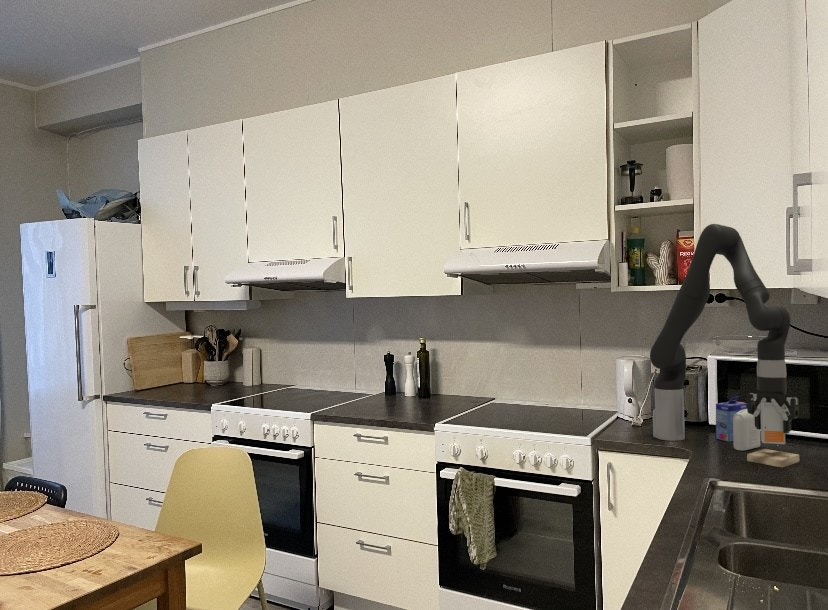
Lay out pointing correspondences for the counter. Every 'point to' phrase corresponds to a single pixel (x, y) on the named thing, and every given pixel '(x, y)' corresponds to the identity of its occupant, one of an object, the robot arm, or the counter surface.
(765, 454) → the trivet
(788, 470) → the counter surface
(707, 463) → the counter surface
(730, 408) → the ink cartridge box
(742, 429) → the white rounded block
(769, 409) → the skincare box
